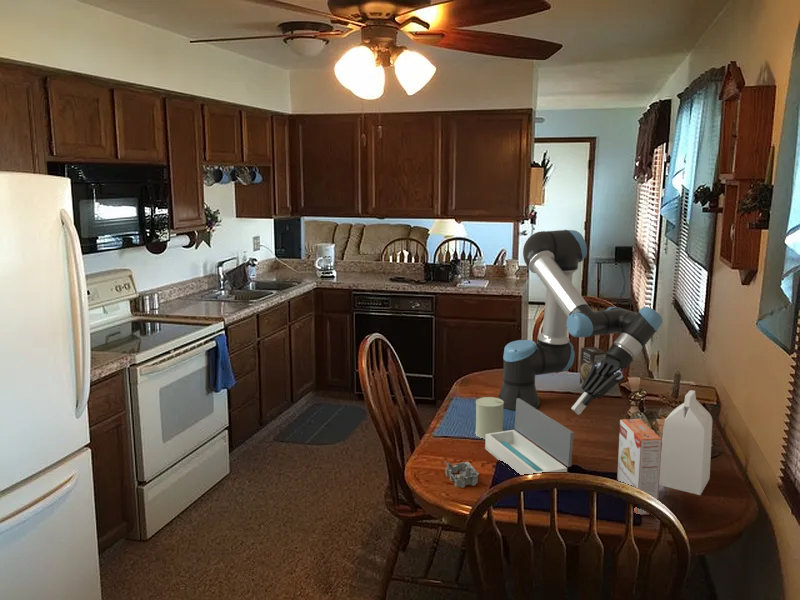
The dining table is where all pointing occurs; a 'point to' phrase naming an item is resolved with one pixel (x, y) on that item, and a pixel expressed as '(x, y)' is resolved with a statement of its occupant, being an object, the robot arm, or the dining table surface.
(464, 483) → the grey lumpy piece
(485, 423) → the can
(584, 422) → the dining table surface
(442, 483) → the dining table surface
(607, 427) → the dining table surface
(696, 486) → the milk
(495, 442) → the hinged pencil box
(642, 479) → the cracker box
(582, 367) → the coffee box
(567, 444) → the cover
